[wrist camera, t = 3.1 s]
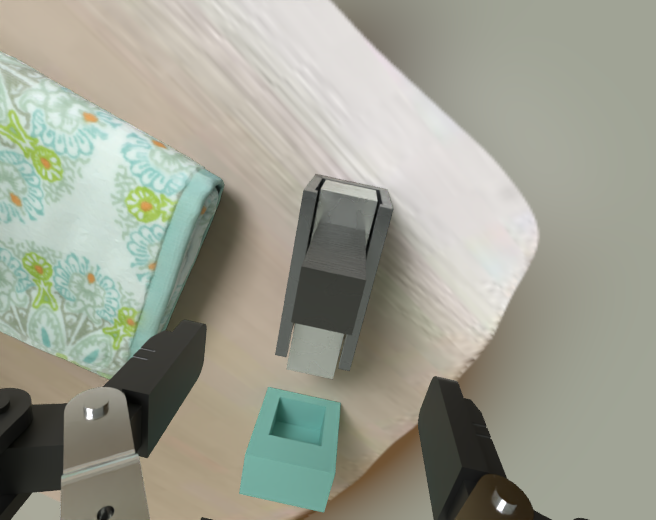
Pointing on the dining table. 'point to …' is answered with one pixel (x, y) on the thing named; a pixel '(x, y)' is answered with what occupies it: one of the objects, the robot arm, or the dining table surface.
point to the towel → (91, 224)
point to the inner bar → (331, 278)
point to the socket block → (292, 450)
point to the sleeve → (301, 248)
